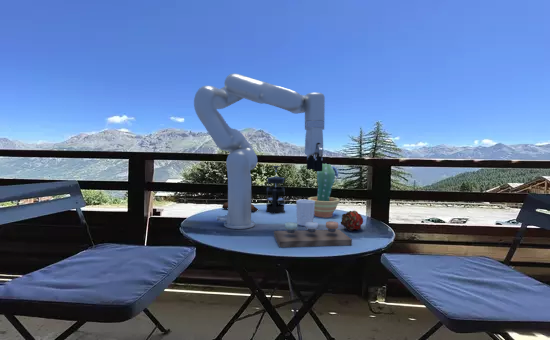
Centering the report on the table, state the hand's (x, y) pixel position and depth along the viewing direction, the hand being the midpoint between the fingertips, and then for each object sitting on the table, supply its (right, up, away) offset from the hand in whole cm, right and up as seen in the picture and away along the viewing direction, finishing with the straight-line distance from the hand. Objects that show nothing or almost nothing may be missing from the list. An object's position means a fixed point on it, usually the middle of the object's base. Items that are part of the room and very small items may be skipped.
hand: (314, 170), depth 127 cm
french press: (-15, -21, +38) cm, 46 cm away
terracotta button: (+5, -22, -10) cm, 24 cm away
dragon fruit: (+16, -24, +6) cm, 30 cm away
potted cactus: (+8, -22, +31) cm, 39 cm away
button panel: (-2, -25, -10) cm, 27 cm away
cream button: (-2, -22, -11) cm, 24 cm away
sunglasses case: (-33, -21, +41) cm, 57 cm away
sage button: (-10, -22, -12) cm, 27 cm away
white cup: (-2, -23, +13) cm, 27 cm away
